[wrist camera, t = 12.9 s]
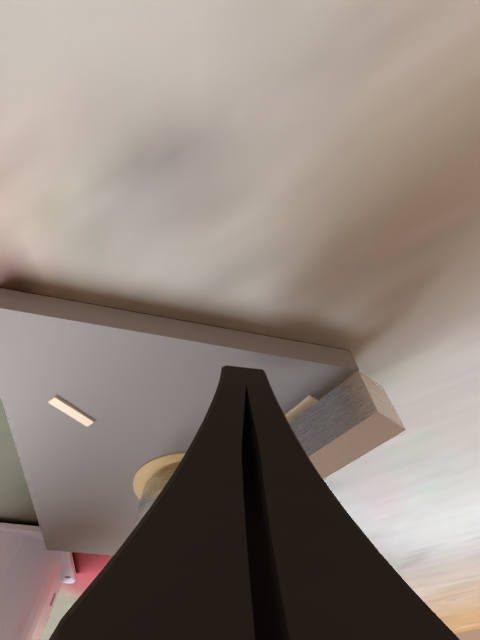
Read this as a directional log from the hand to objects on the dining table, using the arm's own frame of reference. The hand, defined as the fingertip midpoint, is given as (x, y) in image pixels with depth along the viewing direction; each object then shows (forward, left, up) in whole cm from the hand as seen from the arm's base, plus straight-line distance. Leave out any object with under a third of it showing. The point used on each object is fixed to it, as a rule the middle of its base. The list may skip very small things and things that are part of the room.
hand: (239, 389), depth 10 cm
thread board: (-10, +2, -3) cm, 10 cm away
